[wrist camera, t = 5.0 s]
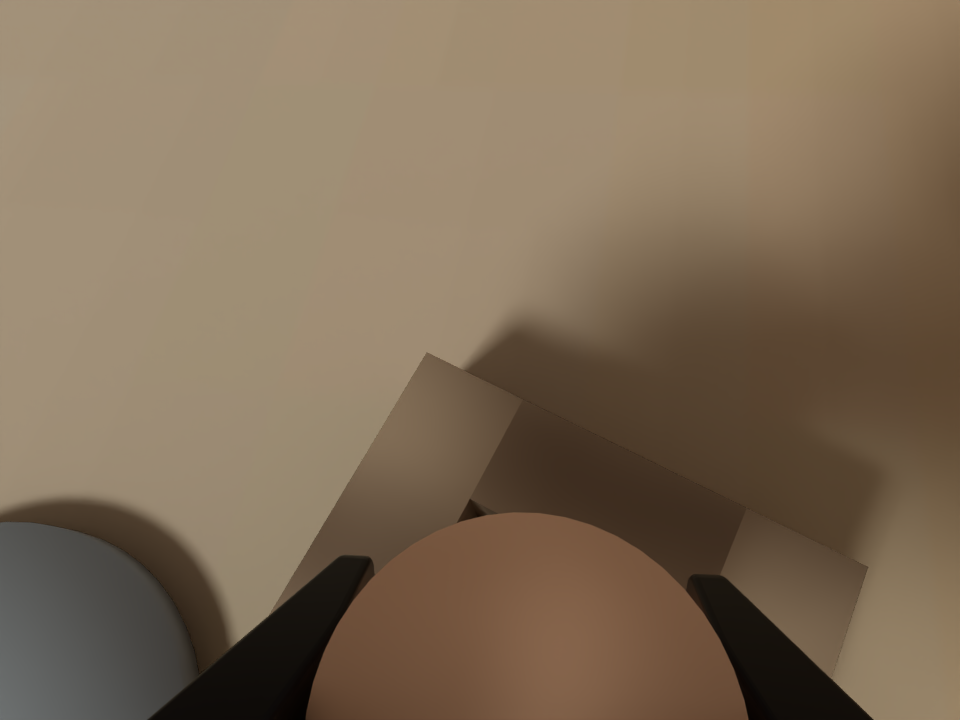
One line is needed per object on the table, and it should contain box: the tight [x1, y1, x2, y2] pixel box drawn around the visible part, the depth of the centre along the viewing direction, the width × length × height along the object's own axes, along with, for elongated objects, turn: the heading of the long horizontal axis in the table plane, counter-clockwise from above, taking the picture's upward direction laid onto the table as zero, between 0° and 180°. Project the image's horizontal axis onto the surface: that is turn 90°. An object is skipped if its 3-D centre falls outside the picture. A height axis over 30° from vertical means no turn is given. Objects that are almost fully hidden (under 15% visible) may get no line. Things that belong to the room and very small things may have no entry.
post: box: [305, 512, 749, 720], centre depth 10 cm, size 4×4×9 cm
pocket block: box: [270, 353, 868, 678], centre depth 16 cm, size 11×11×3 cm
